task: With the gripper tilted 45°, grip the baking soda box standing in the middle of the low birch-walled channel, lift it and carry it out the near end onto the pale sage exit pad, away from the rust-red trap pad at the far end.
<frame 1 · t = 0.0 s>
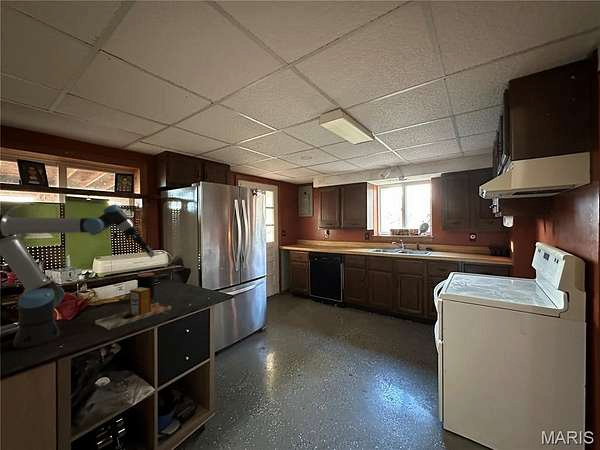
hand: (152, 255, 153), 36 cm above the counter, tool tilted 35°, fingers open, 13 cm apart
exit pad: (114, 323, 137), on the counter
trap pad: (157, 309, 158), on the counter
baking soda box: (140, 315, 149), on the counter
channel: (136, 316, 147), on the counter
coffee jar: (146, 298, 182), on the counter
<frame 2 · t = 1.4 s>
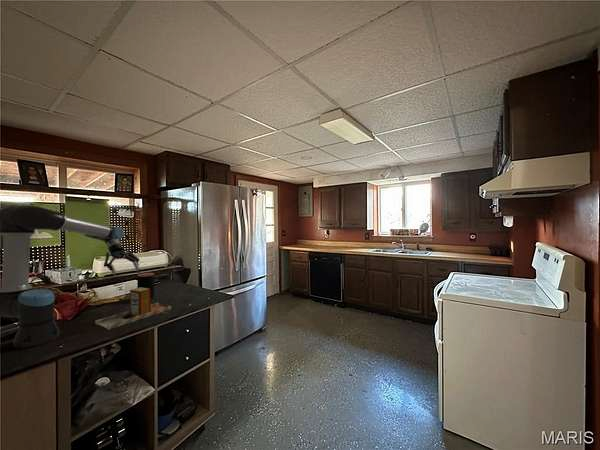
hand: (127, 271, 157), 25 cm above the counter, tool tilted 45°, fingers open, 13 cm apart
nothing on the counter moved.
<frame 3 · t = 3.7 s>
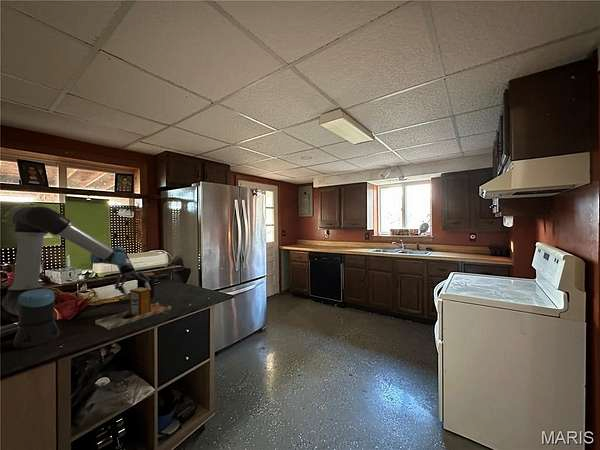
hand: (138, 293, 153), 12 cm above the counter, tool tilted 45°, fingers open, 13 cm apart
nothing on the counter moved.
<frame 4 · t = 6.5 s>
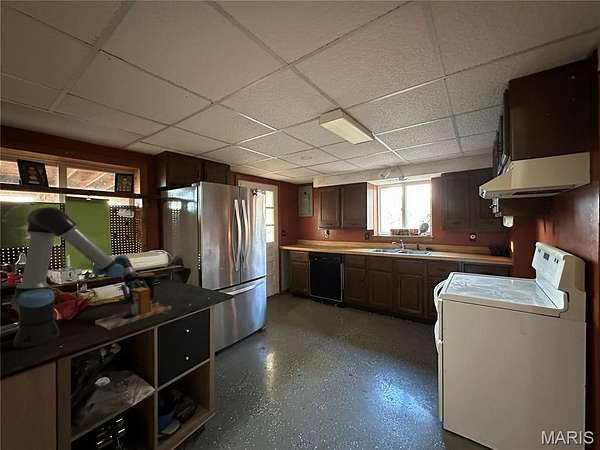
hand: (143, 305, 147), 6 cm above the counter, tool tilted 45°, fingers closed on baking soda box, 7 cm apart
baking soda box: (140, 315, 149), on the counter, touching gripper
everything else where it was.
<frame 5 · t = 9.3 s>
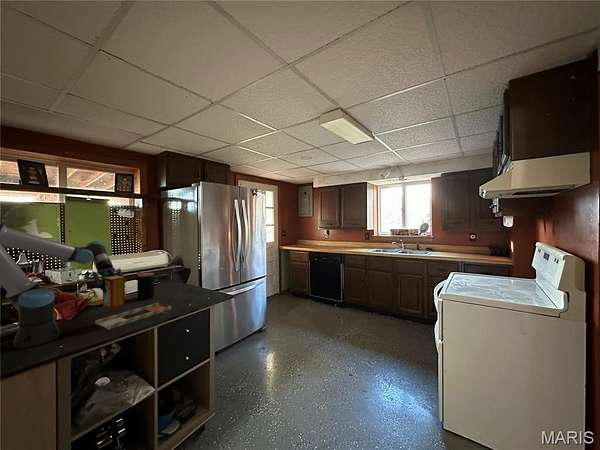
hand: (117, 295, 135), 16 cm above the counter, tool tilted 45°, fingers closed on baking soda box, 6 cm apart
baking soda box: (113, 305, 137), point 10 cm above the counter, touching gripper
everything else where it was.
when the fingers open (8 cm above the counter, at t = 11.5 s): baking soda box drops 1 cm, resting on exit pad.
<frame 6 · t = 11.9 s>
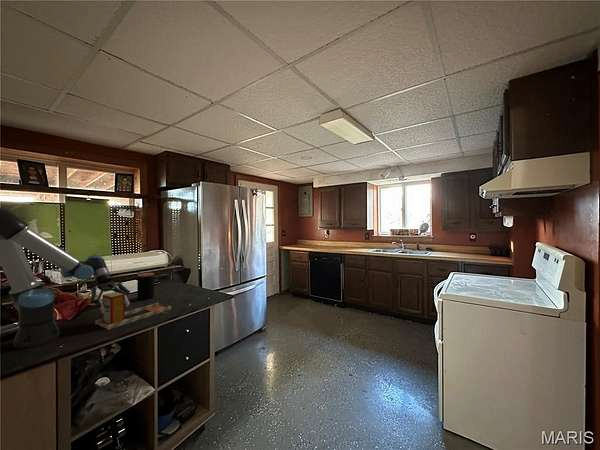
hand: (116, 308, 136), 9 cm above the counter, tool tilted 45°, fingers open, 11 cm apart
baking soda box: (113, 322, 137), resting on exit pad
everything else where it was.
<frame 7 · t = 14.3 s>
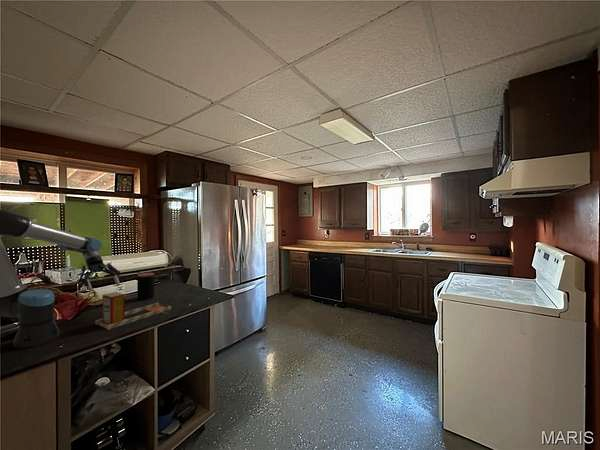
hand: (105, 287, 142), 19 cm above the counter, tool tilted 45°, fingers open, 13 cm apart
nothing on the counter moved.
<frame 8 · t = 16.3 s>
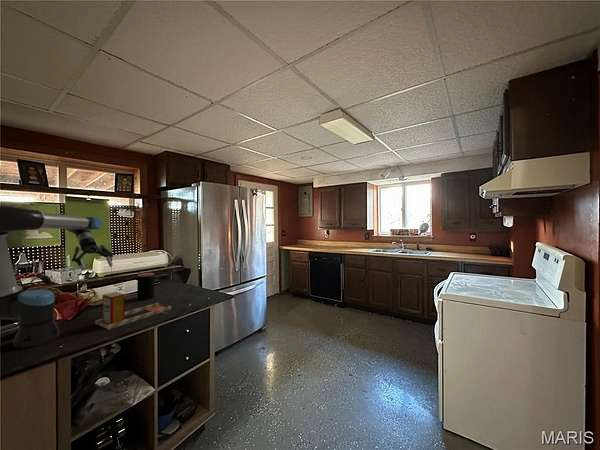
hand: (98, 267, 146), 30 cm above the counter, tool tilted 45°, fingers open, 13 cm apart
nothing on the counter moved.
at the end: baking soda box inside the target area (0.2 cm from its centre), resting on exit pad; baking soda box tilted 0°; baking soda box touching exit pad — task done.
